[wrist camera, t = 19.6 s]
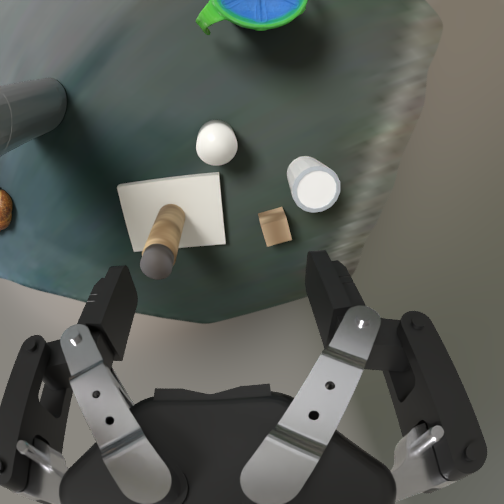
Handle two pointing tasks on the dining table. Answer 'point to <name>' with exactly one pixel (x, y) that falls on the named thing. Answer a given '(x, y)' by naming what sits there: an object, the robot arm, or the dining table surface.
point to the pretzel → (5, 209)
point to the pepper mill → (163, 242)
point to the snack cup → (251, 13)
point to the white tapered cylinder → (312, 184)
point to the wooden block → (275, 226)
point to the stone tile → (183, 195)
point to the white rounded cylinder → (216, 143)
